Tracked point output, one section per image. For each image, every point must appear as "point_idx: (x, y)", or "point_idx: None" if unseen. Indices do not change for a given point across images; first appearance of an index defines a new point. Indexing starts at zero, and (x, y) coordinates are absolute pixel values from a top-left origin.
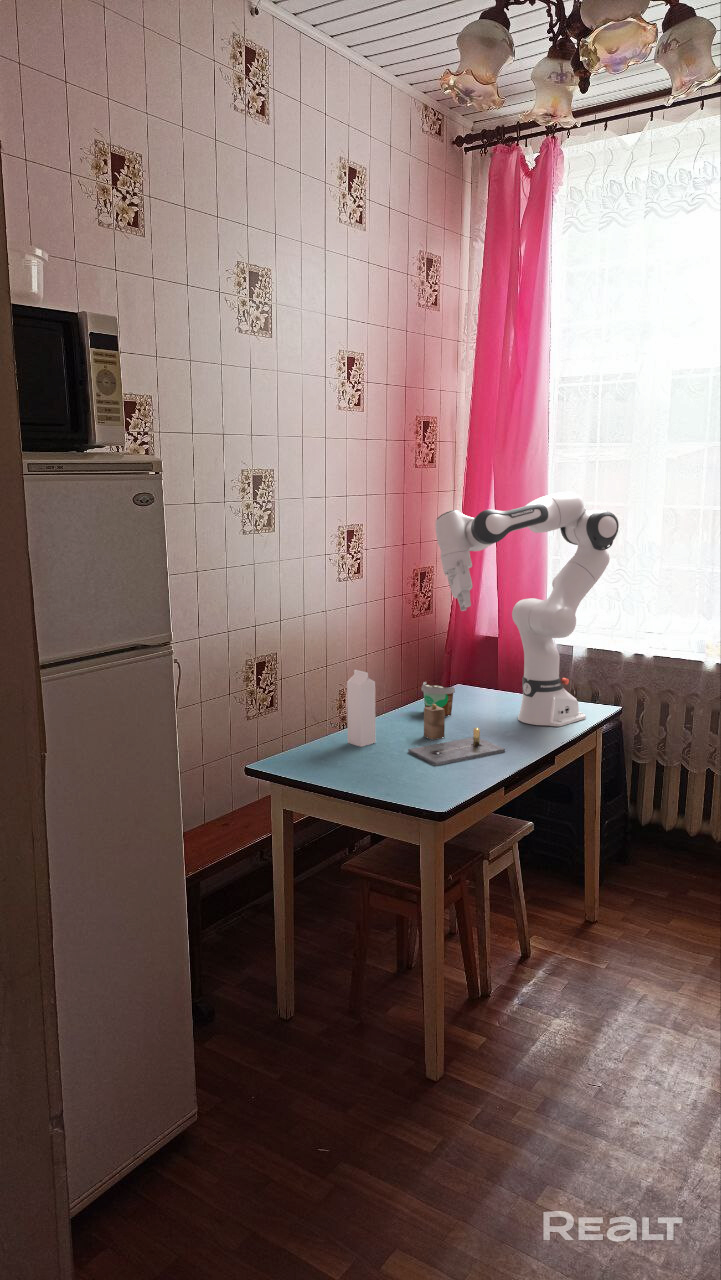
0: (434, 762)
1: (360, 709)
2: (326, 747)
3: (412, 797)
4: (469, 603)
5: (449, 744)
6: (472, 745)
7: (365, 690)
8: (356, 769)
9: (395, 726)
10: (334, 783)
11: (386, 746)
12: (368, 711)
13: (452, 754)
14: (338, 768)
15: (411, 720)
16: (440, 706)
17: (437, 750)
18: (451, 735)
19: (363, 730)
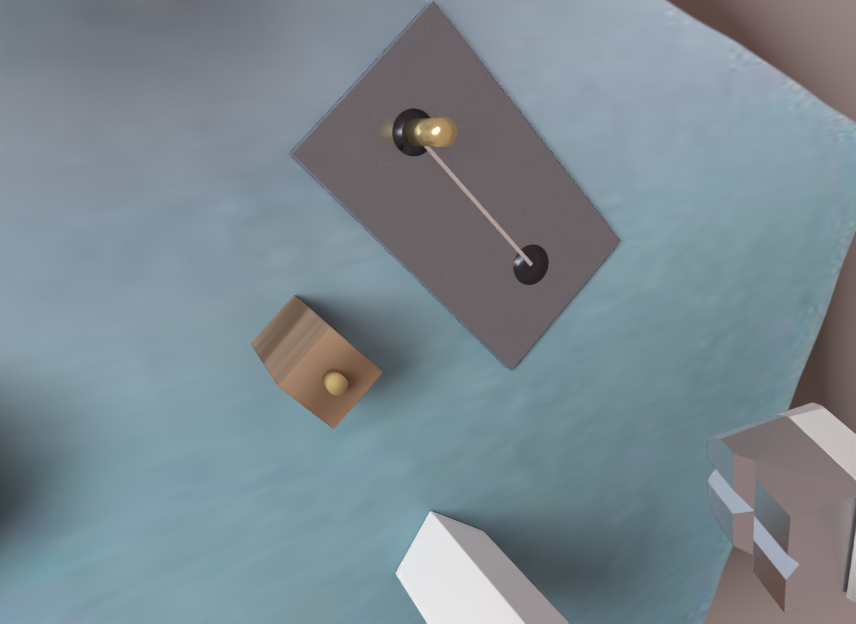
0: (614, 246)
1: (559, 613)
2: None
3: (819, 236)
4: (844, 450)
5: (428, 242)
6: (421, 148)
7: None
8: (665, 447)
9: (188, 542)
10: None
11: (457, 460)
12: (520, 591)
13: (538, 204)
14: (664, 494)
15: (54, 523)
16: None
17: (505, 268)
18: (251, 274)
19: (502, 558)
